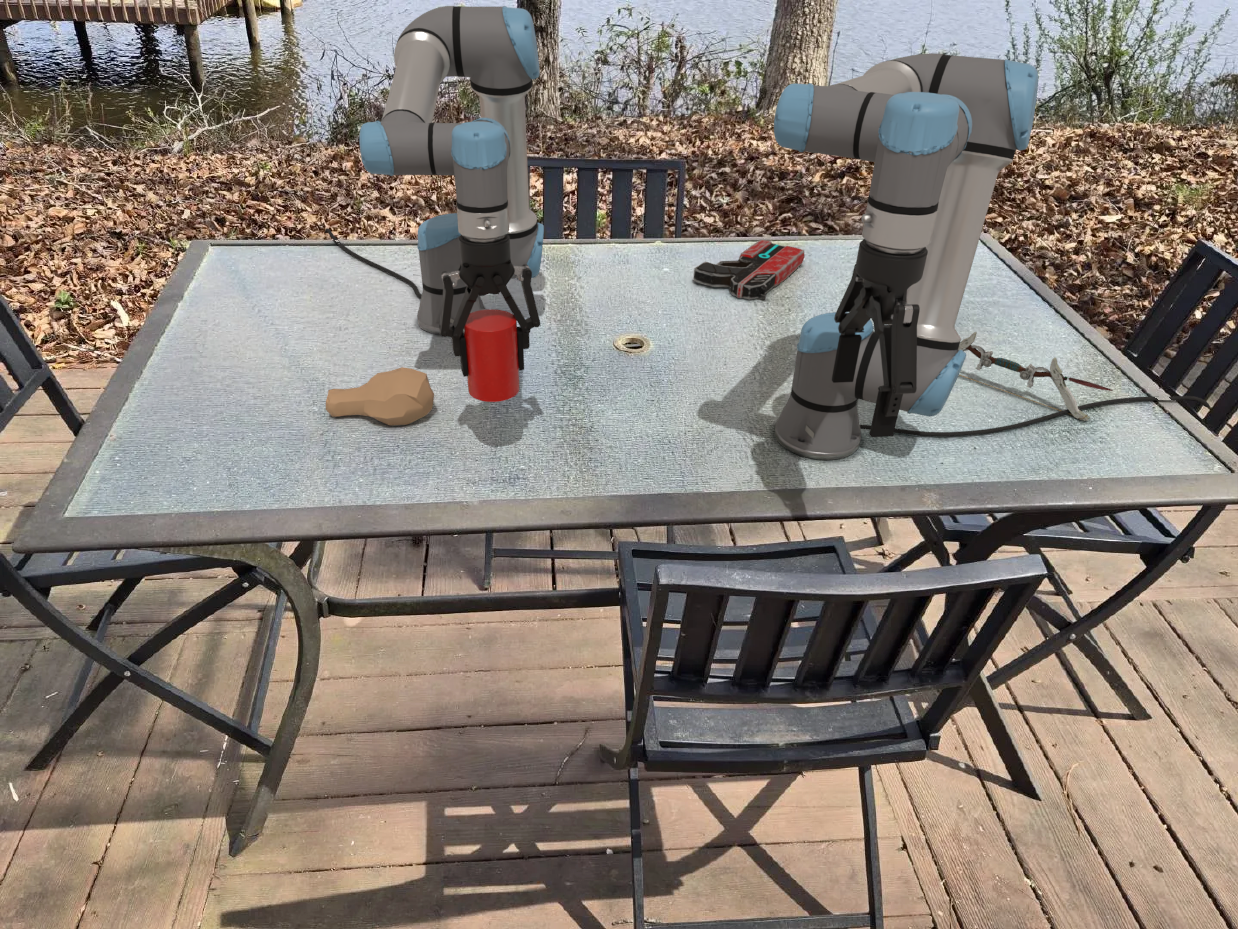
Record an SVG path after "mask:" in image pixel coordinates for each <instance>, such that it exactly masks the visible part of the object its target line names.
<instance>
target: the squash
mask: <svg viewBox="0 0 1238 929" xmlns="http://www.w3.org/2000/svg"><path fill="white" fill-rule="evenodd" d="M434 399H435V393H434V390H433V389H432V387H431V384H430V381H429V377H428V373H426V372H423V371H420V370H417V369H414V368H409V367H405V366H404V367H403V366H401V367H398V368H394V369H392V370H387V371H381V372H377V373H376V374H374V375H372V377H370V378H369V380H368V381H367V382H366V383H363V384H362V385H360V386H359V387H349V388H332V389H328V391H327V396H326V399H325V411H326V412H327V413H328V414H329V415H330V416H331V417H332V418H336V417H343V416H356V415H357V416H358V415H360V416H364V417H370V418H372V419H374V420H376V421H379V422H380V423H383V424H385V425H388V426H389V427H390V426H405V425H406V426H407V425H410V424H412V423H414V422H416V421H418V420H420V419H422V418H424V417H426V416H427V415H429V413H431V411H432V410H433V409H434Z"/></svg>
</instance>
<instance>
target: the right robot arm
mask: <svg viewBox="0 0 1238 929" xmlns="http://www.w3.org/2000/svg"><path fill="white" fill-rule="evenodd" d="M1038 89H1039V73H1038V70H1037V68H1036V67H1035V66H1034V65H1032V64H1029V63H1025V62H1021V61H1015V60H1009V59H1006V58H1005V59H998V58H987V57H977V56H966V55H965V56H964V55H953V54H952V55H951V54H944V53H934V52H932V53H931V52H929V53H919V54H913V55H907V56H902V57H897V58H893V59H889V60H885V61H881V62H879V63H877V64H874V65H873V66H871V67H870V68H869V69H867V70H866V71H865V72H864V73H863V74H862V75H860V76H857V77H854V78H850V79H848V80H844V81H841V82H837V83H835V84H830V85H816V84H813V83H811V82H809V83H790V84H788V85H786V87H785V88H784V89H783V91H782V92H781V94H780V96H779V98H778V101H777V104H776V108H775V113H774V120H773V133H774V134H773V136H774V139H775V142H776V143H777V144H778V146H779V147H781V148H784V149H790V150H794V151H798V152H799V153H804V152H805V153H812V154H820V155H827V156H833V157H840V158H847V159H855V160H860V161H865V162H872V163H874V164H873V168H872V169H873V170H872V175H871V181H870V187H869V193H868V198H867V204H866V208H865V213H863V214H862V215H861V222H862V223H863V225H862V230H861V236H862V238H863V239H862V240H860V242H859V245H858V250H857V254H856V255H857V256H856V261H855V264H854V266H853V271H852V275H851V279H850V281H849V282H848V286H847V287H846V290H845V292H844V294H843V296H842V299H841V301H840V303H839V305H838V307H837V310H835V311H834V312H825V313H821V314H817V315H815V316H813V317H811V318H808V319H807V321H805V323H804V324H803V325H802V327H801V329H800V335H799V339H798V342H797V344H796V355H795V361H794V368H793V376H792V384H791V391H790V395H789V397H788V398H787V401H786V402H785V404H784V406H783V407H782V410H781V412H780V414H778V418H777V420H776V423H775V426H774V427H775V428H774V437H775V439H776V440H777V442H778V443H779V445H780V446H782V447H783V448H784V449H786V450H787V451H788V452H791V453H793V454H795V455H797V456H801V457H804V458H808V459H812V460H822V461H832V460H840V459H843V458H846V457H849V456H851V455H853V454H855V453H856V452H857V451H858V449H859V447H860V445H861V444H860V443H861V439H862V430H866V431H867V430H868V431H869V432H868V434H869V436H870V437H871V438H881V437H883V438H884V437H894V434H901V435H902V434H903V435H910V436H918V437H919V436H920V437H934V438H935V437H938V438H940V437H941V438H943V437H944V438H949V437H968V436H977V435H978V436H979V435H987V434H994V433H999V432H1006V431H1010V430H1014V429H1020V428H1023V427H1027V426H1030V425H1034V424H1037V423H1038V424H1039V423H1040V422H1046V421H1048V420H1051V419H1055V418H1058V417H1061V416H1064V415H1069V414H1068V413H1070V414H1072V413H1071V412H1070V411H1069V410H1068V408H1066V409H1063V410H1061V411H1055V412H1054V413H1049V414H1046V415H1044V416H1040V417H1038V418H1033V419H1028V420H1026V421H1021V422H1017V423H1014V424H1008V425H1004V426H1003V425H1002V426H997V427H991V428H985V429H976V430H975V429H974V430H962V431H923V430H912V429H906V428H905V429H904V428H898V427H897V428H896V425H897V421H898V419H899V418H898V417H899V413H900V411H901V412H902V411H903V412H906V413H907V414H909V415H910V414H914V415H919V416H925V417H935V416H937V415H938V414H940V412H941V411H942V410H943V409H944V406H945V405H946V402H947V401H948V399H949V397H950V395H951V392H952V390H953V388H954V386H955V384H956V382H957V380H958V377H959V375H960V373H961V371H962V368H963V365H964V363H965V360H966V358H967V353H966V351H964V352H963V350H958V348H959V344H960V342H961V341H962V338H961V336H960V334H959V333H958V331H957V329H956V322H957V319H958V315H959V312H960V309H961V305H962V302H963V298H964V294H965V291H966V287H967V284H968V281H969V276H970V273H971V270H972V267H973V263H974V259H975V256H976V252H977V249H978V245H979V241H980V239H981V235H982V231H983V228H984V224H985V221H986V217H987V214H988V209H989V207H990V203H991V199H992V197H993V193H994V189H995V186H996V181H997V178H998V176H999V173H1000V171H1001V170H1003V169H1004V168H1006V167H1007V166H1009V165H1010V164H1012V163H1013V162H1014V158H1015V154H1016V151H1024V150H1026V149H1027V148H1028V146H1029V145H1030V144H1029V143H1030V138H1031V135H1032V130H1033V125H1034V118H1035V112H1036V107H1037V106H1036V105H1037V98H1038ZM1155 397H1156V396H1133V397H1122V398H1113V399H1107V400H1100V401H1095V402H1090V403H1086V404H1081V405H1077V406H1078V409H1079V410H1080V411H1082V410H1087V409H1091V408H1096V407H1100V406H1106V405H1113V404H1121V403H1134V402H1151V401H1152V402H1160V401H1159V400H1158V399H1157V398H1155ZM1168 397H1169V398H1170V399H1171V400H1173V401H1172V402H1175V401H1176V402H1177V401H1193V402H1197V403H1200V404H1201V405H1202V406H1203V407H1205V408H1211V405H1210V403H1208V402H1207V401H1206V400H1205V399H1203V398H1201V397H1198V396H1194V395H1176V396H1175V395H1174V396H1168ZM859 400H861V401H864V402H868V403H872V404H875V405H874V410H873V415H872V420H871V424H861V423H860V418H859V411H858V401H859Z"/></svg>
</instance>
